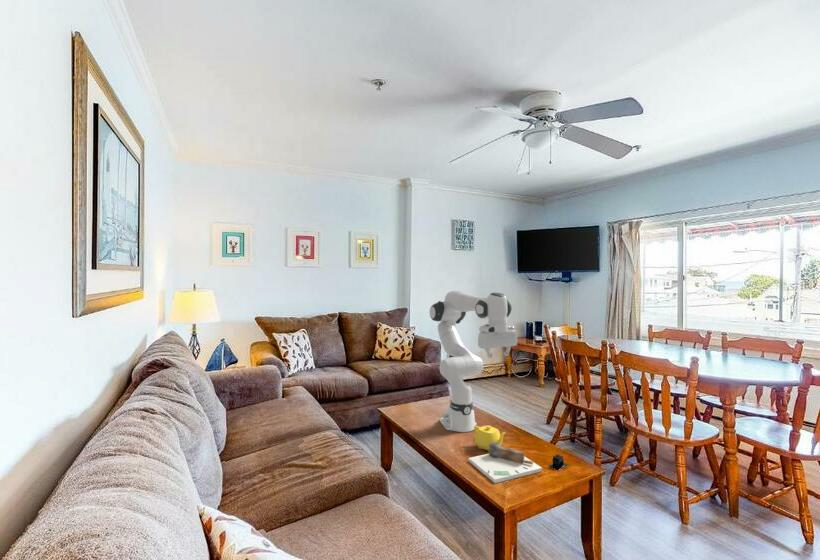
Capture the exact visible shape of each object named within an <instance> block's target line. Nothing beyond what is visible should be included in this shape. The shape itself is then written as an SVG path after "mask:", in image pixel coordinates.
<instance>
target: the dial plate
mask: <svg viewBox="0 0 820 560" xmlns="http://www.w3.org/2000/svg"><path fill="white" fill-rule="evenodd" d="M524 460H528V461H532V460H531V459H529V458H528V457H526V456H525V455H524ZM468 462H469V463H470V464H471V465H472V466H474V467H475V469H477V470H479V471H480V472H481V473H482V474H483V475H484V476H486V477H487V478H488V479H489V480H490V481H492V482H493V483H494V484H498V483H502V482H505V481H506V482H507V481H510V480H513V479H517V478H521V477H526V476H529V475H533V474H537V473H541V472H543V467H541V466H540V465H539V464H537V463H536V462H534V461H532V462H533V465H531V464H527V463H520V462H516V461H512V460H508V459H504V458H500V457H492V456H490V455H489V453H486V454H481V455H477V456H472V457H468Z"/></svg>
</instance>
